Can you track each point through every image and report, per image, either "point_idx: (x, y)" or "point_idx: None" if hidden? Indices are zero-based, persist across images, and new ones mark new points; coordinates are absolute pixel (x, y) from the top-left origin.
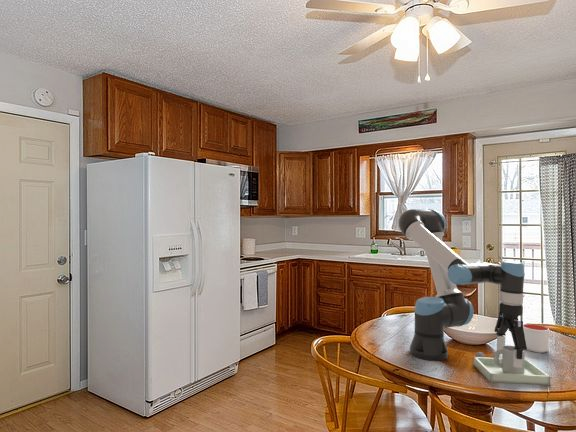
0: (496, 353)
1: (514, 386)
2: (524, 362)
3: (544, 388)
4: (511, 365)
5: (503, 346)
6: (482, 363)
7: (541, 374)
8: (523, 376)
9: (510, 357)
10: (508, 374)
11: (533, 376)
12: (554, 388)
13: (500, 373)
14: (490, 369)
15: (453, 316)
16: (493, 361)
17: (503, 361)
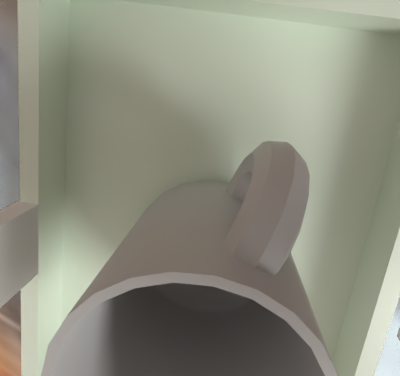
0: (266, 170)
1: (3, 128)
2: (138, 365)
3: None
4: (129, 231)
5: (301, 330)
6: (283, 4)
7: None
8: None
9: (109, 259)
10: (19, 122)
11: (24, 304)
12: (12, 353)
13: (30, 56)
14: (276, 102)
15: None
16: (391, 198)
17: (208, 204)
